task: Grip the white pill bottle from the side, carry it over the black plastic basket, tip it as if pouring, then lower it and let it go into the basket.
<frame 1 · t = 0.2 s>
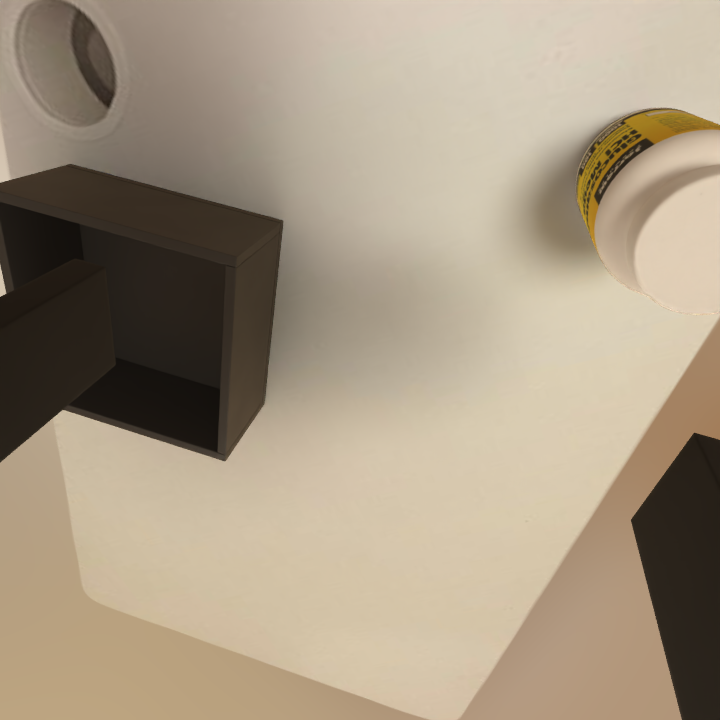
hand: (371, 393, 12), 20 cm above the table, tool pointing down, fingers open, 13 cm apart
basket: (175, 294, 36), on the table
pill bottle: (639, 175, 26), on the table
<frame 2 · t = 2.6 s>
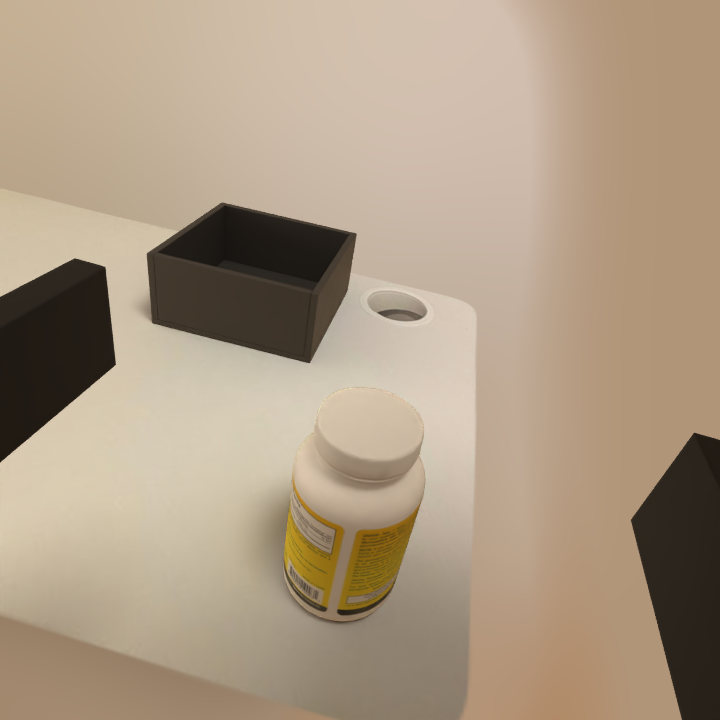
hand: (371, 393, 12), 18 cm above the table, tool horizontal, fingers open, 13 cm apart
basket: (259, 305, 50), on the table
pill bottle: (337, 572, 29), on the table
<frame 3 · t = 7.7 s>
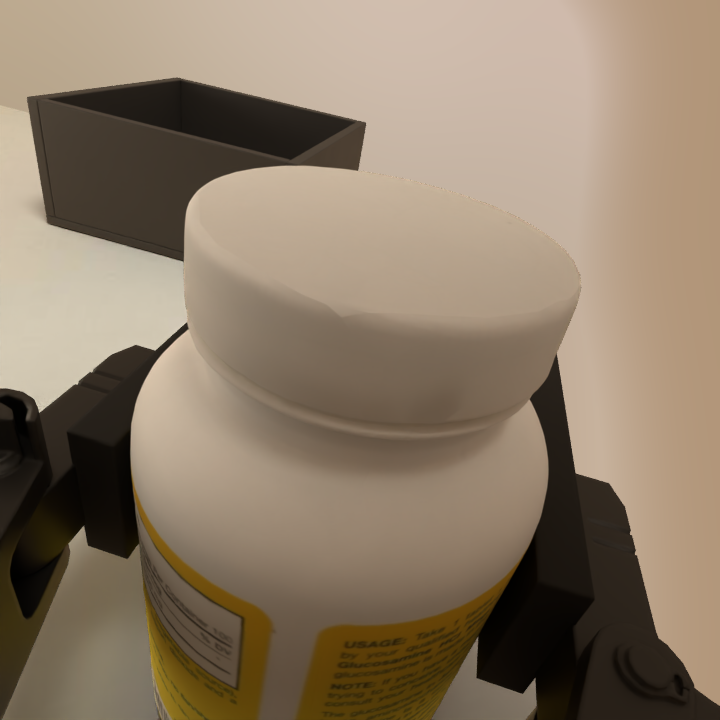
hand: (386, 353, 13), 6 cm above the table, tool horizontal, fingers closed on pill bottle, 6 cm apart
basket: (221, 217, 34), on the table
pill bottle: (293, 672, 12), on the table, touching gripper
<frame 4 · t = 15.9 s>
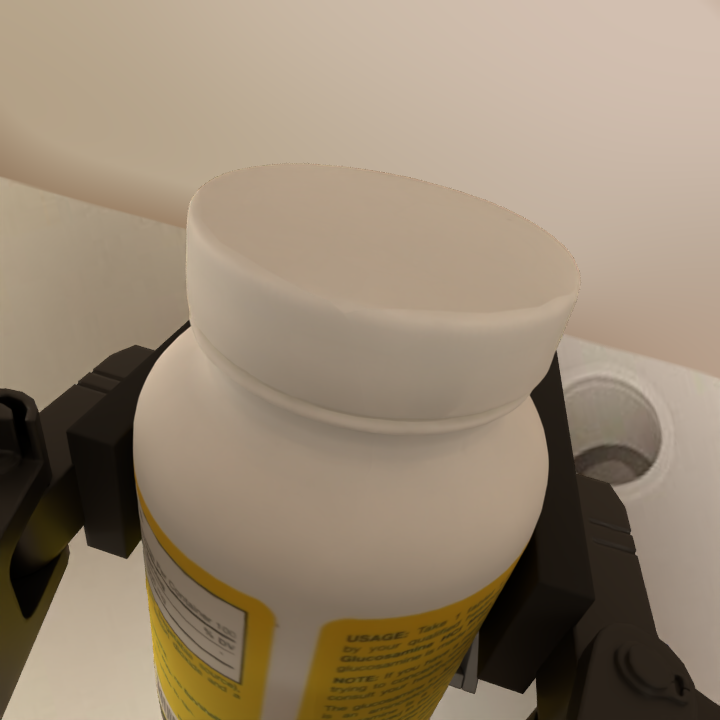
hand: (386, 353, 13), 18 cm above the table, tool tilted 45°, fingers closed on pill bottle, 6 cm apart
basket: (367, 478, 30), on the table
pill bottle: (295, 668, 13), point 18 cm above the table, touching gripper
when the fingers open (8 cm above the table, at t = 22.4 s): pill bottle drops 1 cm, resting on basket.
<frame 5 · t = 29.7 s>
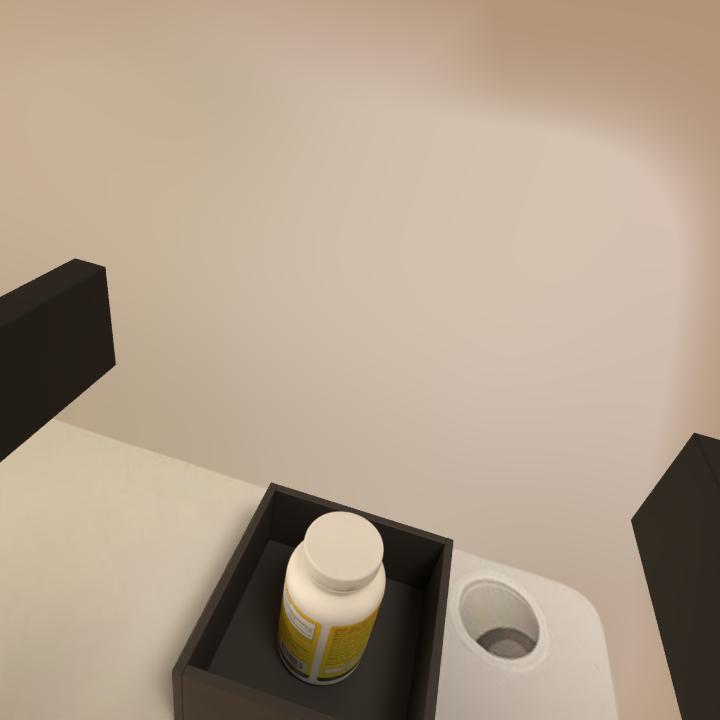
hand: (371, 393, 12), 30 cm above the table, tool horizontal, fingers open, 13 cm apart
basket: (321, 647, 36), on the table
pill bottle: (319, 641, 36), resting on basket
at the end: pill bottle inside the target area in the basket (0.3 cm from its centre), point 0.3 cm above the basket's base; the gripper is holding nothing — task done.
